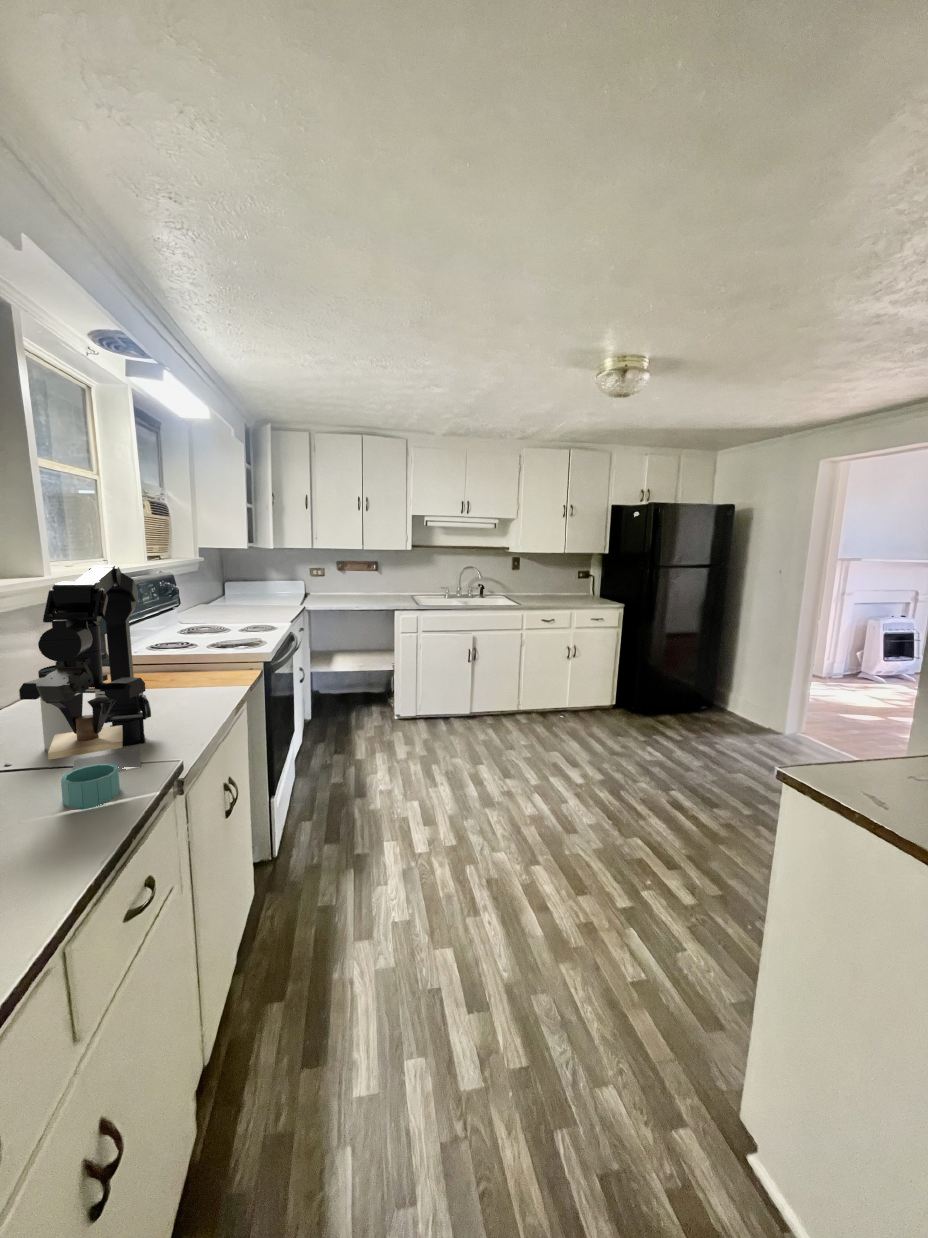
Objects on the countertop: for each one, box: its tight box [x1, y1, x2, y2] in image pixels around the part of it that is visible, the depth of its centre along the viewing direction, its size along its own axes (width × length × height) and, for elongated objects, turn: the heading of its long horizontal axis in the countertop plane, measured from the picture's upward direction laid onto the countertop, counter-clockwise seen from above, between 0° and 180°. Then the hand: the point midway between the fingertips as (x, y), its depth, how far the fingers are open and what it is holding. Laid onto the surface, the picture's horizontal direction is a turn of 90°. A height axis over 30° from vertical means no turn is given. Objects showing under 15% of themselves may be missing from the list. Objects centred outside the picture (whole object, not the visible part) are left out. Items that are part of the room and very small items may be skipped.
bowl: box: [60, 764, 121, 811], centre depth 92 cm, size 8×8×5 cm
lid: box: [47, 714, 123, 761], centre depth 91 cm, size 10×10×5 cm
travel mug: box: [37, 664, 73, 753], centre depth 114 cm, size 6×7×20 cm
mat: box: [72, 748, 142, 773], centre depth 107 cm, size 12×12×1 cm
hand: (87, 733), depth 91 cm, fingers closed on lid, 3 cm apart
